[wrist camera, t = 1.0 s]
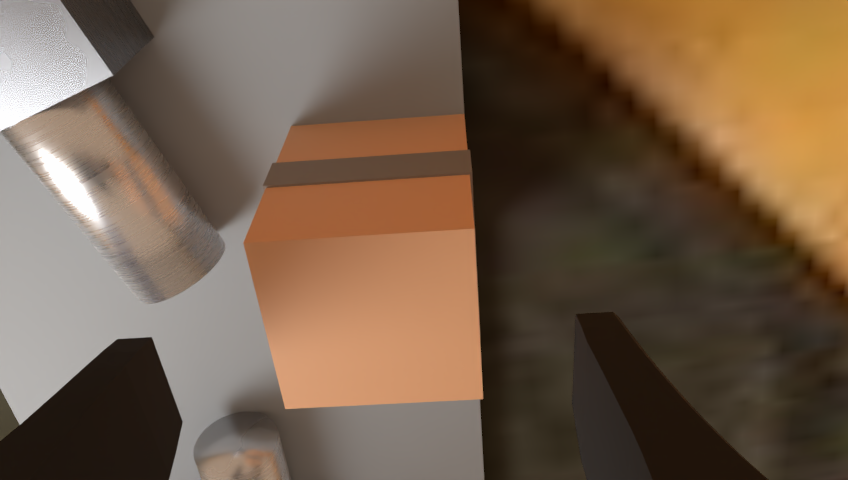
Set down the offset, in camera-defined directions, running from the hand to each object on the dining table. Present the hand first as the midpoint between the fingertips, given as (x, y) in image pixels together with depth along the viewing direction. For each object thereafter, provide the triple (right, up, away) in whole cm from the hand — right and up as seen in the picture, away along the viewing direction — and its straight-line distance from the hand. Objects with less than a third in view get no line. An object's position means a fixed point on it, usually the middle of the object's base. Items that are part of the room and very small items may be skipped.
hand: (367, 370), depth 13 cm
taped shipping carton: (0, +3, +5) cm, 6 cm away
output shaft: (-6, +5, +5) cm, 10 cm away
